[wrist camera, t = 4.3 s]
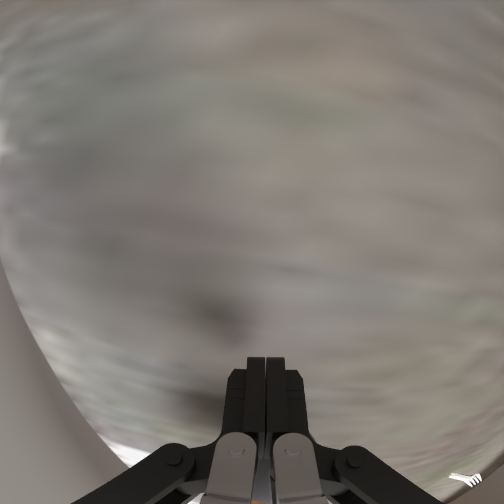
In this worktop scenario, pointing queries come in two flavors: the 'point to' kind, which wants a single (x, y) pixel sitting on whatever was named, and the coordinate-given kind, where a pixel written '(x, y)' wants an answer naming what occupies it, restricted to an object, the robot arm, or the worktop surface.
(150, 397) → the worktop surface
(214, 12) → the worktop surface
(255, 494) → the dark grey ball
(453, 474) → the fork
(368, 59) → the worktop surface
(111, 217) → the worktop surface
